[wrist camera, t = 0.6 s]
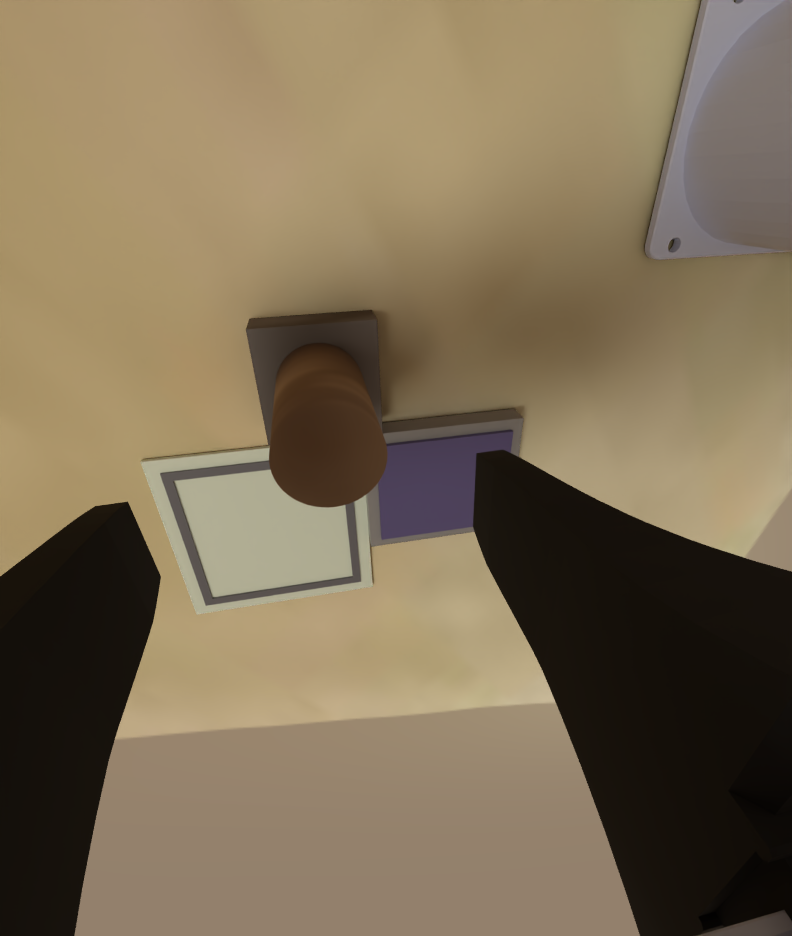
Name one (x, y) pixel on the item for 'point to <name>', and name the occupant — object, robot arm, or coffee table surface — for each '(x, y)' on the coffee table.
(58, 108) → the coffee table surface
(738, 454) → the coffee table surface
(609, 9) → the coffee table surface
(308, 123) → the coffee table surface
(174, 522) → the sheet
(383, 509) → the ink pad
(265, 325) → the stamp
